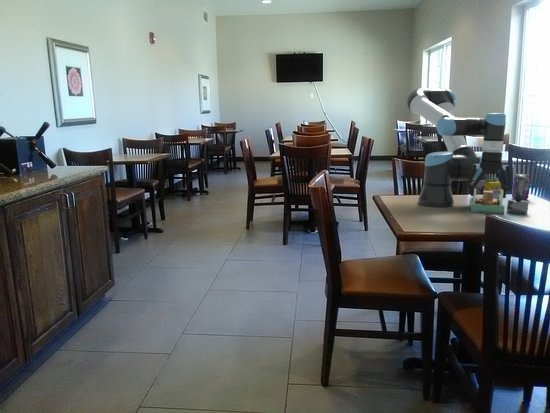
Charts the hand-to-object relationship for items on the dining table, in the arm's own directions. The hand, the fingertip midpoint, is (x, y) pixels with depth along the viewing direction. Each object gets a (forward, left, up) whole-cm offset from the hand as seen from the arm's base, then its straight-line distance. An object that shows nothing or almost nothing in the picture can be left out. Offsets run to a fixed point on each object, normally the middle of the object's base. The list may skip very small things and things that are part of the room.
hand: (487, 204), depth 194 cm
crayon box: (+3, +22, -3) cm, 23 cm away
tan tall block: (0, +4, -2) cm, 5 cm away
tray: (0, +4, -3) cm, 5 cm away
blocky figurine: (+11, 0, -3) cm, 12 cm away
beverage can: (+17, +39, -3) cm, 43 cm away
